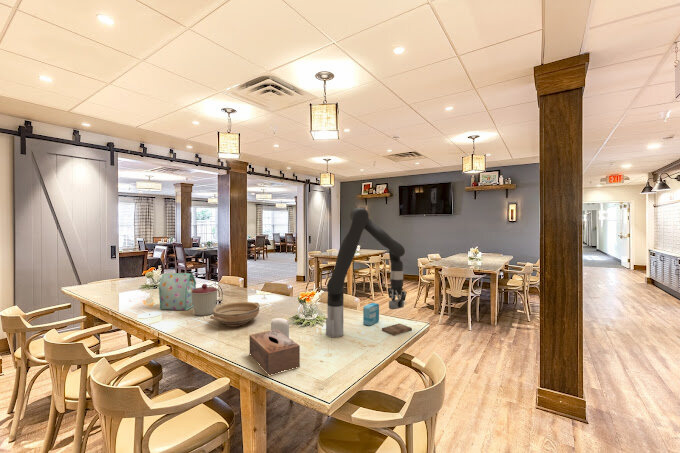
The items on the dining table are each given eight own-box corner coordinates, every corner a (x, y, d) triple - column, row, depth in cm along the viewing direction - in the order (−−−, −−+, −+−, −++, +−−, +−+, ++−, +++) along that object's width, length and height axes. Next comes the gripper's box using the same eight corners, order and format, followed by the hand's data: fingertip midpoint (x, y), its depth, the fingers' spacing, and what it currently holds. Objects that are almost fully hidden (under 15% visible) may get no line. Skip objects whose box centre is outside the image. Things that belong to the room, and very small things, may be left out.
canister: (212, 317, 212) (211, 286, 212) (185, 317, 212) (185, 286, 212) (222, 310, 230) (222, 281, 230) (198, 310, 230) (197, 281, 230)
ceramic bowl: (228, 336, 177) (228, 318, 177) (196, 327, 192) (196, 311, 191) (273, 318, 210) (273, 303, 209) (242, 312, 224) (242, 298, 224)
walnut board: (393, 335, 178) (393, 332, 178) (381, 330, 186) (381, 327, 186) (411, 330, 187) (411, 327, 187) (399, 325, 195) (399, 323, 195)
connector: (401, 304, 192) (401, 298, 192) (407, 306, 188) (407, 299, 188) (387, 308, 185) (387, 301, 184) (392, 309, 181) (392, 302, 181)
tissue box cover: (299, 367, 140) (299, 345, 140) (268, 376, 132) (268, 353, 132) (277, 348, 161) (277, 329, 161) (249, 355, 153) (249, 334, 153)
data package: (369, 326, 194) (369, 307, 193) (363, 325, 196) (363, 306, 196) (379, 321, 203) (379, 303, 203) (373, 320, 206) (373, 302, 206)
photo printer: (290, 340, 171) (290, 318, 171) (286, 343, 167) (286, 320, 167) (273, 338, 174) (273, 316, 174) (269, 341, 170) (269, 318, 170)
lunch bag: (198, 305, 243) (198, 271, 242) (186, 311, 226) (185, 274, 226) (170, 304, 245) (170, 270, 245) (156, 310, 229) (156, 274, 228)
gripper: (410, 279, 182) (410, 308, 182) (392, 275, 194) (392, 303, 194) (401, 280, 178) (401, 310, 178) (383, 277, 189) (383, 305, 190)
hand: (396, 306), depth 186 cm, fingers closed on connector, 4 cm apart
